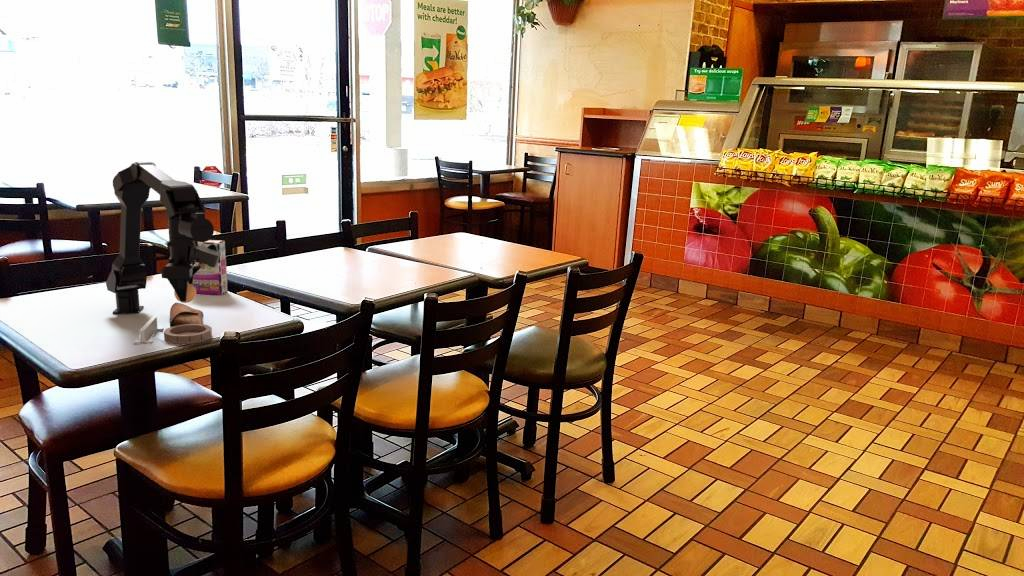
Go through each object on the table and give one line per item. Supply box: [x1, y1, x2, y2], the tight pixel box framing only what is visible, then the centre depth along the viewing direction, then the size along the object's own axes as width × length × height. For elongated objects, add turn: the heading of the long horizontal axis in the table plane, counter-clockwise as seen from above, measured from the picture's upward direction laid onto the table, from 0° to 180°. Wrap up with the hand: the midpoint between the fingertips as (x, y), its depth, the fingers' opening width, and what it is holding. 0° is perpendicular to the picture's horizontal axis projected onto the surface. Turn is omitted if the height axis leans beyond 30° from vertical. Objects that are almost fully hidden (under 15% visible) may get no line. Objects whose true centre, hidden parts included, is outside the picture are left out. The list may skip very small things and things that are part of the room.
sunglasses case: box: [169, 302, 204, 328], centre depth 201 cm, size 18×7×7 cm
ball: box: [173, 283, 197, 304], centre depth 187 cm, size 5×5×5 cm
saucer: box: [163, 323, 213, 345], centre depth 189 cm, size 11×11×2 cm
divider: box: [133, 316, 165, 345], centre depth 189 cm, size 12×4×4 cm, turn 11°
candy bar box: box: [193, 239, 229, 296], centre depth 231 cm, size 11×5×16 cm, turn 88°
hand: (185, 298), depth 187 cm, fingers closed on ball, 5 cm apart
